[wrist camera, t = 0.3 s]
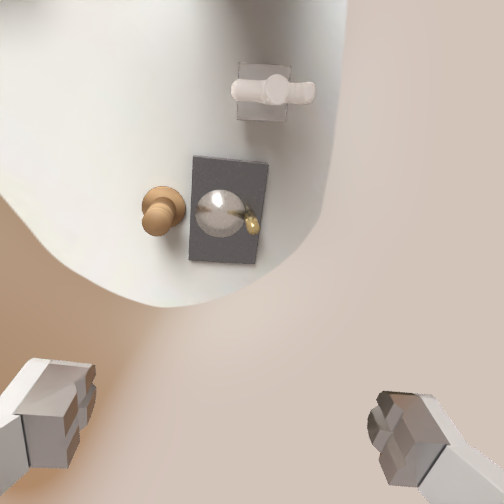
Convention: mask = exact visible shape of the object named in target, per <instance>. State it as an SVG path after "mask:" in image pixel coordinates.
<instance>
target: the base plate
mask: <svg viewBox="0 0 504 504" xmlns="http://www.w3.org/2000/svg"><path fill="white" fill-rule="evenodd" d="M267 172H268V163H262V162H253V161H244V160H234V159H225V158H216V157H206V156H197V155H194V156H193V170H192V193H191V216H190V239H189V260H195V261H212V262H229V263H245V264H255V260H256V252H257V245H258V238H259V232H258V233H257V234H255V235H251V234H249V233H248V231H247V227H246V223H245V219H244V215H245V213H246V212H248V211H252V212H254V213H255V215H256V218H257V221H258V223H259V226H260V223H261V216H262V208H263V201H264V194H265V186H266V179H267Z"/></svg>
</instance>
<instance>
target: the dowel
mask: <svg viewBox="0 0 504 504" xmlns="http://www.w3.org/2000/svg"><path fill="white" fill-rule="evenodd" d="M244 219H245V223H246V227H247V231H248V233H249V234H251V235H255V234H257V233H258V232H259V231H260V226H259V223H258V221H257V218H256V215H255V213H254V212H252V211H248V212H246V213H245V215H244Z"/></svg>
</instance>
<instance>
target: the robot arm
mask: <svg viewBox="0 0 504 504" xmlns="http://www.w3.org/2000/svg"><path fill="white" fill-rule="evenodd" d="M95 376H96V369H95V365H93V364H86V363H77V362H68V361H60V360H49V359H39V358H32V359H31V360H29V361H28V362H26V364H25V365H24V366H23V368H22V369H21V370H20V371H19V373H18V374H17V375H16V377H15V378H14V379H13V380H12V382H11V383H10V384H9V386H8V387H7V388H6V389H5V391H4V392H3V393H2V395H1V396H0V496H1V495H2V494H3V493H4V492H5V491H6V490H8V489H9V488H10V487H11V486H12V485H13V484H14V483H15V482H17V480H19V479H20V478H21V477H22V476H23V475H24V474H25V473H26V472H28V471H29V468H68V467H69V465H70V462H71V460H72V458H73V456H74V453H75V451H76V449H77V447H78V445H79V442H80V435H79V434H80V433H79V431H80V430H81V429H83V428H84V427H85V426H86V425H87V424H88V422H89V419H90V417H91V414H92V411H93V408H94V404H95V398H96V386H95V385H94V384H93V383H92V382H93V380H94V378H95ZM376 400H377V403H378V406H377V407H375V408H373V409H372V410H371V412H370V414H369V416H368V425H367V429H368V433H369V437H370V440H371V442H372V445H373V446H374V447H375V448H376V449H377V450H378V451H379V452H380V457H379V462H380V464H381V467H382V469H383V472H384V474H385V477H386V479H387V481H388V484H389V485H395V486H406V487H407V486H408V487H418V490H419V491H420V493H421V494H422V495H423V496H424V497H425V498H426V500H427V501H428V502H429V503H430V504H504V470H503V469H501V468H500V467H499V466H498V465H497V464H495V463H494V462H493V461H491V460H490V459H489V458H487V457H486V456H485V455H484V454H482V453H481V452H480V451H478V450H477V449H476V448H474V447H469V446H468V444H467V443H466V441H465V440H464V438H463V437H462V435H461V434H460V433H459V431H458V430H457V428H456V427H455V425H454V424H453V422H452V421H451V419H450V418H449V416H448V415H447V414H446V412H445V411H444V409H443V408H442V406H441V405H440V403H439V402H438V400H437V399H436V398H435V397H434V396H432V395H427V394H413V393H405V392H392V391H382V392H381V393H379V395H378V397H377V399H376Z"/></svg>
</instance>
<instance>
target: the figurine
mask: <svg viewBox="0 0 504 504" xmlns="http://www.w3.org/2000/svg"><path fill="white" fill-rule="evenodd" d="M290 69H291V66H284V65H269V64H255V63H241V62H239V67H238V80H236V81H235V82H234V83H233V84H232V87H231V95H232V98H233V99H234V100H236V101H238V102H237V120H252V121H272V122H286V115H287V104H288V103H291V104H309V103H311V102H312V101H313V100H314V98H315V94H316V88H315V85H314V83H312V82H299V83H291V82H289V80H290Z"/></svg>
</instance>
